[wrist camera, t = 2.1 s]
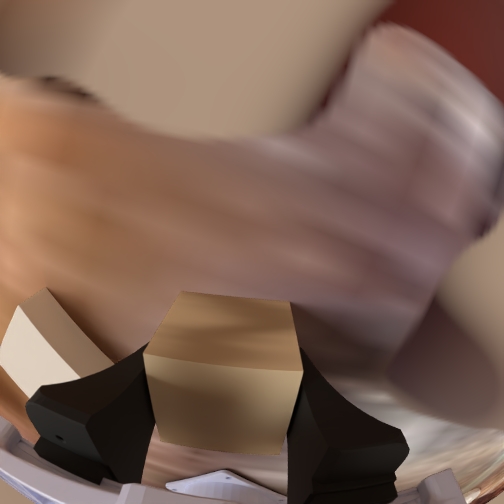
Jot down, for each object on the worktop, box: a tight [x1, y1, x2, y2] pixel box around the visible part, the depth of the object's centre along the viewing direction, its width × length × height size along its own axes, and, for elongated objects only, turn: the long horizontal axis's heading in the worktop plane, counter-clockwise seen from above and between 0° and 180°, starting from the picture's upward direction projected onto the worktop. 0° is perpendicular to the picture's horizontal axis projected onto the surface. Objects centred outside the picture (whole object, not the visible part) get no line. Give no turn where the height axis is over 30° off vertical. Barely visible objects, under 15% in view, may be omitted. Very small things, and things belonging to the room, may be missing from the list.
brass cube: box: [143, 291, 303, 455], centre depth 11 cm, size 5×5×5 cm
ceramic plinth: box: [0, 287, 114, 398], centre depth 14 cm, size 8×8×3 cm
